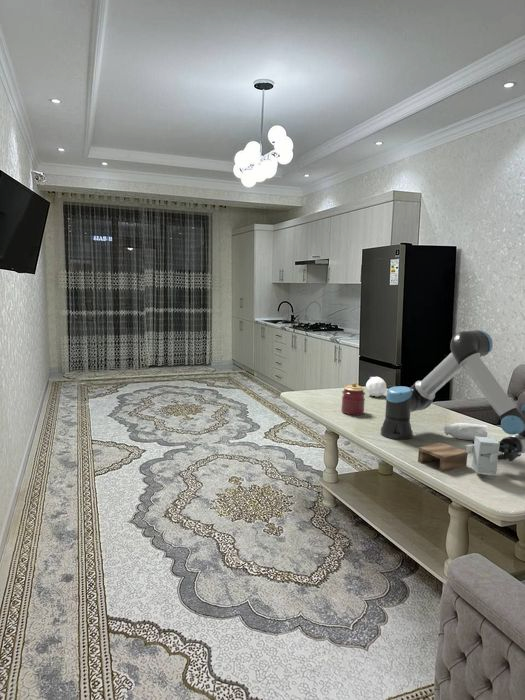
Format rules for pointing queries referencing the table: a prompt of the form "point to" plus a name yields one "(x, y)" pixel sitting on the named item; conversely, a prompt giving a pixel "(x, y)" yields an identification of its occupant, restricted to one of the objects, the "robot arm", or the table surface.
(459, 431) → the white bottle
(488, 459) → the supplement box
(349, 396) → the canister
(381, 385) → the geodesic sphere
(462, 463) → the shelf
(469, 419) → the table surface
